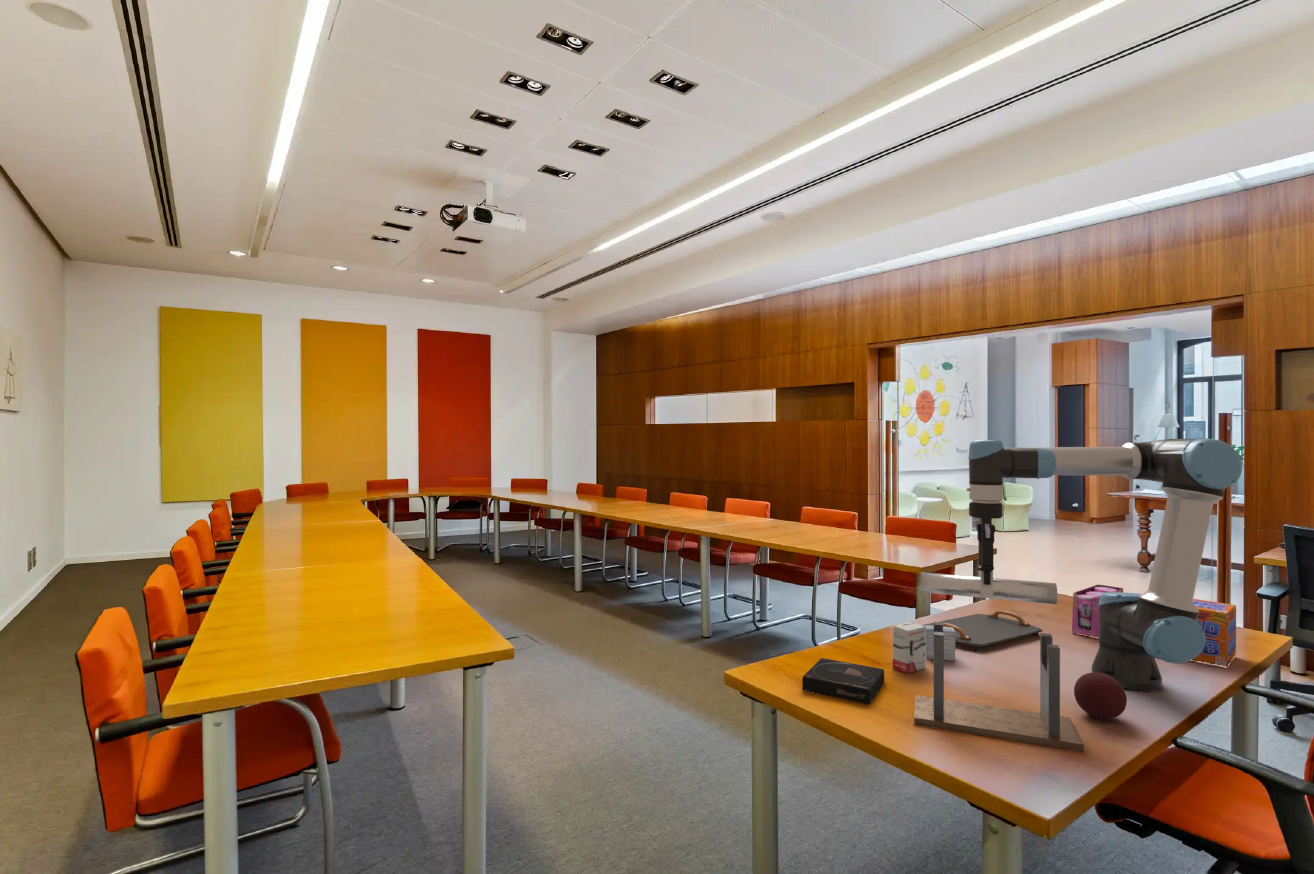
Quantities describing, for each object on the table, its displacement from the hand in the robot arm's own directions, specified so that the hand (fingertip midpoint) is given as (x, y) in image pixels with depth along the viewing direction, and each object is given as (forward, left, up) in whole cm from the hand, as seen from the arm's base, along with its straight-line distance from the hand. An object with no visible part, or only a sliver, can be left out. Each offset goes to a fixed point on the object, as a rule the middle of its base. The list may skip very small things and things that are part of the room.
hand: (985, 594), depth 161 cm
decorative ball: (-23, +5, -25) cm, 34 cm away
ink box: (+18, -12, -25) cm, 33 cm away
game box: (-60, -57, -25) cm, 87 cm away
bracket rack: (0, +19, -25) cm, 31 cm away
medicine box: (+10, -25, -25) cm, 37 cm away
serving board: (-2, -54, -25) cm, 60 cm away
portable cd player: (+33, +9, -25) cm, 43 cm away
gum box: (-39, -76, -25) cm, 89 cm away
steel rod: (0, -1, -1) cm, 1 cm away
